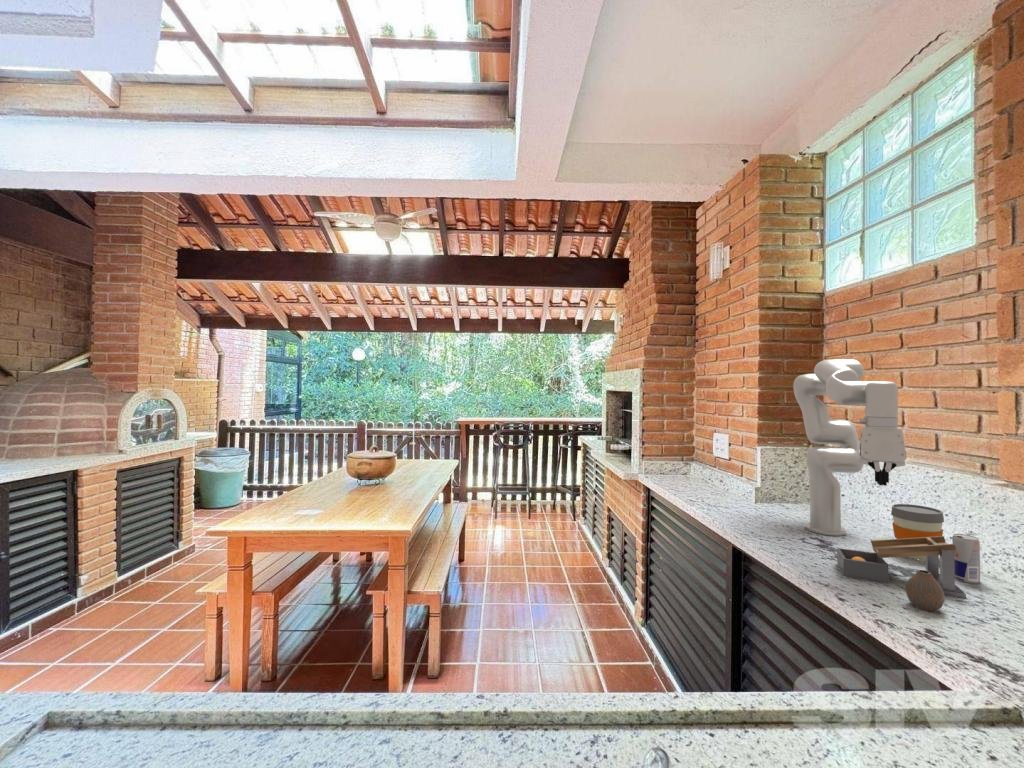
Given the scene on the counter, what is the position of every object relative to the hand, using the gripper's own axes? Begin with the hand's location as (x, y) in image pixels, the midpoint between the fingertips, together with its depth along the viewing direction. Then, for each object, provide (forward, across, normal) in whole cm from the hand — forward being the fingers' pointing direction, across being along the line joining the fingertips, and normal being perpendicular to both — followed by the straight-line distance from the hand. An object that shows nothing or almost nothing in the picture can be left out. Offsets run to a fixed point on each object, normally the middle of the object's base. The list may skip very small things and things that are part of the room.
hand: (881, 484), depth 133 cm
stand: (+25, +11, -8) cm, 28 cm away
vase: (+25, +3, -26) cm, 36 cm away
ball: (+22, -7, -8) cm, 24 cm away
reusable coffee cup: (+25, +13, +17) cm, 33 cm away
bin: (+25, -6, -8) cm, 27 cm away
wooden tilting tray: (+17, +5, -4) cm, 18 cm away
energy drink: (+25, +19, 0) cm, 31 cm away
